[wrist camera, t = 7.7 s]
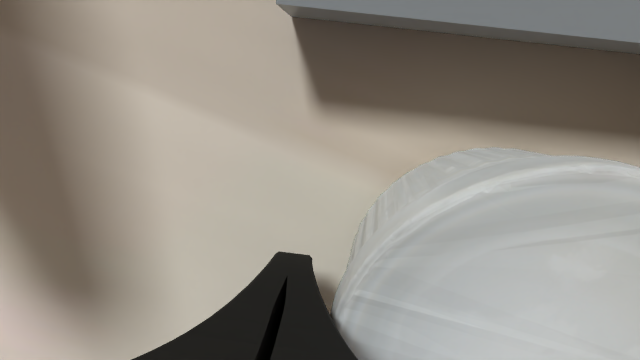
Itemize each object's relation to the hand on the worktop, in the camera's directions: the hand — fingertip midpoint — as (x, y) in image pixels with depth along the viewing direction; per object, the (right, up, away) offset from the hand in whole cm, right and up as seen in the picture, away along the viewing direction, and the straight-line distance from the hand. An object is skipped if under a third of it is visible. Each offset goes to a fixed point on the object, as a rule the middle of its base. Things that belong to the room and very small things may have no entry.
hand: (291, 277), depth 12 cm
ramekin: (+7, 0, +2) cm, 7 cm away
